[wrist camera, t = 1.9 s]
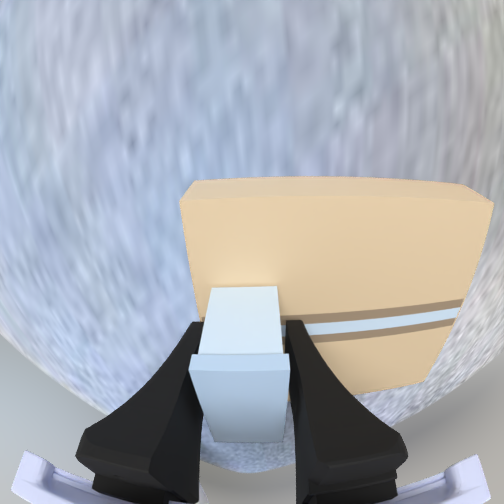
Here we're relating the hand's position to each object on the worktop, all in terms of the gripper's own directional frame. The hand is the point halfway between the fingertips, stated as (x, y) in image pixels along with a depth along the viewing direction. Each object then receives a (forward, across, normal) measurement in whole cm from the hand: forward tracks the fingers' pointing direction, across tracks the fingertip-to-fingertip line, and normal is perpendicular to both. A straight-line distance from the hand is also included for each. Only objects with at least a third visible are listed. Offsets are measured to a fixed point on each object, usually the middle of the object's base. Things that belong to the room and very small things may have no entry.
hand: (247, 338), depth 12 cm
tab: (0, 0, 0) cm, 0 cm away
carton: (+3, -4, 0) cm, 5 cm away
